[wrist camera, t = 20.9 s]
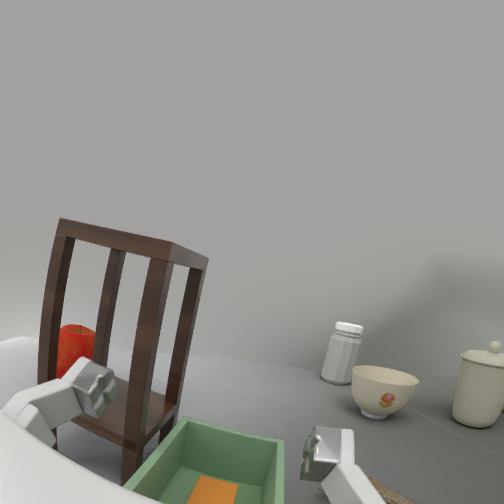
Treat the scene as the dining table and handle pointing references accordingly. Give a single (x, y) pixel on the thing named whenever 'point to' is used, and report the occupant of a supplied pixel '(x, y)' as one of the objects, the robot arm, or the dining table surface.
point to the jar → (342, 353)
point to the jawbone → (387, 493)
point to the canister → (480, 387)
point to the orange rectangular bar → (213, 492)
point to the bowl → (381, 390)
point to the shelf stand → (146, 340)
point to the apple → (73, 347)
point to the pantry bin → (212, 464)
